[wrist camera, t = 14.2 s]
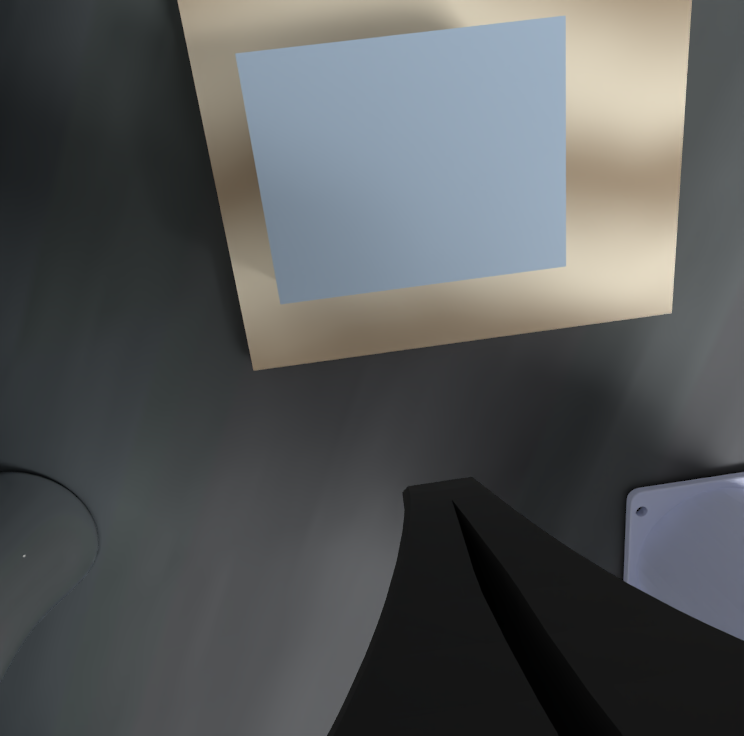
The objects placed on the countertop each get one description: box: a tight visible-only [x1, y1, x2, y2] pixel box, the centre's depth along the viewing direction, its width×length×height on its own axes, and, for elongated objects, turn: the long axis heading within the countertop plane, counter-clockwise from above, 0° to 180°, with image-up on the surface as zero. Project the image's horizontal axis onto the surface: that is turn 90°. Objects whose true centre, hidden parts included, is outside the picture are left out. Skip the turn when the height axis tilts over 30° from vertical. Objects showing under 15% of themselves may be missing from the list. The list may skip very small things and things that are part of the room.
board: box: [177, 0, 692, 371], centre depth 16 cm, size 12×16×1 cm
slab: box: [235, 16, 566, 304], centre depth 14 cm, size 6×4×8 cm
